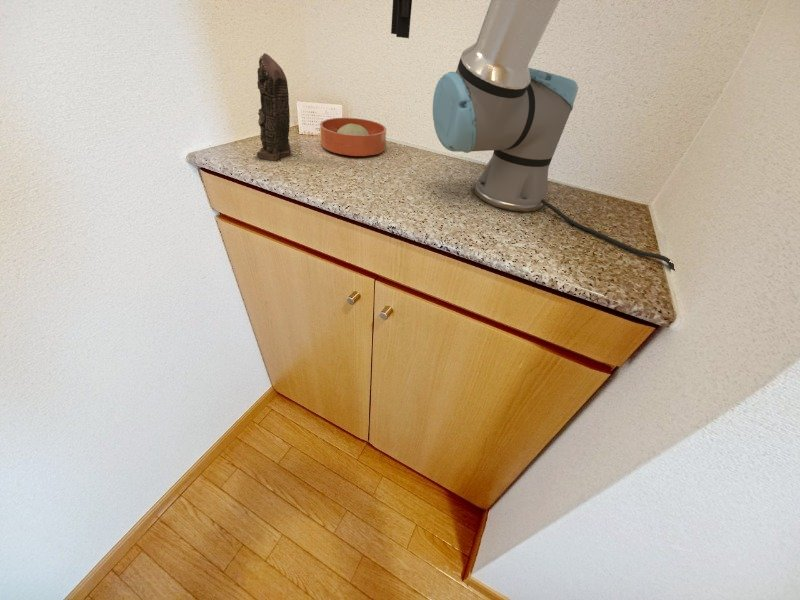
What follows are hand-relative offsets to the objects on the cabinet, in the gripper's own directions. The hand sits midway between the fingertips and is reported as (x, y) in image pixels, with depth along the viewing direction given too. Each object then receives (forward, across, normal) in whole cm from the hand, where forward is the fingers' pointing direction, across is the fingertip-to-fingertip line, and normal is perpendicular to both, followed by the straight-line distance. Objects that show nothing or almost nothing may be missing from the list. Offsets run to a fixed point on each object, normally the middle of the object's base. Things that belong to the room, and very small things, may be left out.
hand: (399, 36), depth 74 cm
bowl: (+25, +2, -11) cm, 27 cm away
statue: (+25, +12, -29) cm, 40 cm away
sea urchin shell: (+24, +2, -11) cm, 26 cm away
